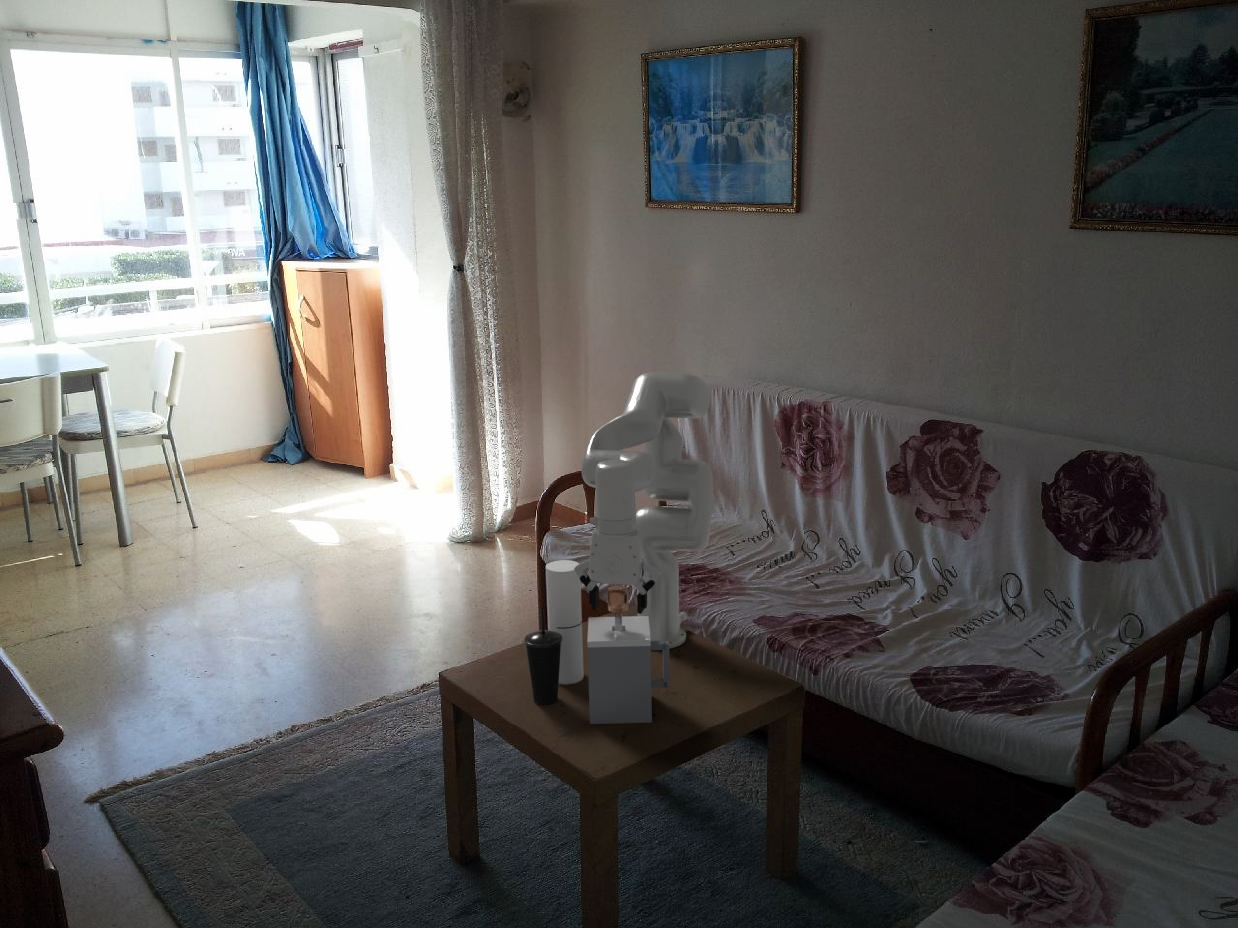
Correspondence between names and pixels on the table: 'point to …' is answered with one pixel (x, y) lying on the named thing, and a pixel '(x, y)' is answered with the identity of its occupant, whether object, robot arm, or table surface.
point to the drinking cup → (544, 663)
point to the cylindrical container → (566, 617)
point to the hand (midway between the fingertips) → (618, 609)
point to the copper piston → (618, 603)
